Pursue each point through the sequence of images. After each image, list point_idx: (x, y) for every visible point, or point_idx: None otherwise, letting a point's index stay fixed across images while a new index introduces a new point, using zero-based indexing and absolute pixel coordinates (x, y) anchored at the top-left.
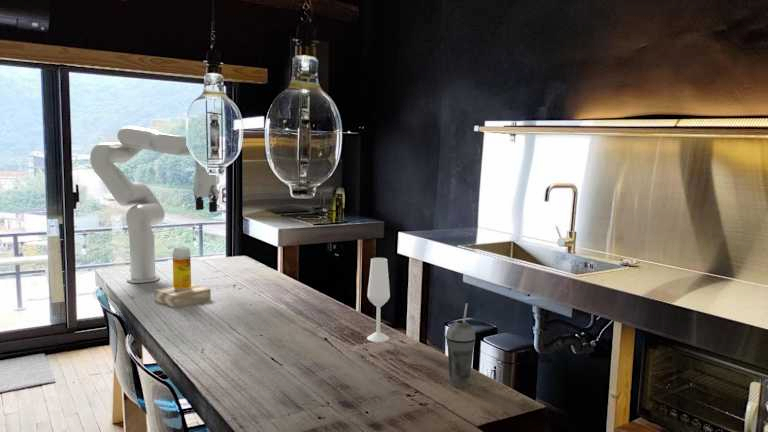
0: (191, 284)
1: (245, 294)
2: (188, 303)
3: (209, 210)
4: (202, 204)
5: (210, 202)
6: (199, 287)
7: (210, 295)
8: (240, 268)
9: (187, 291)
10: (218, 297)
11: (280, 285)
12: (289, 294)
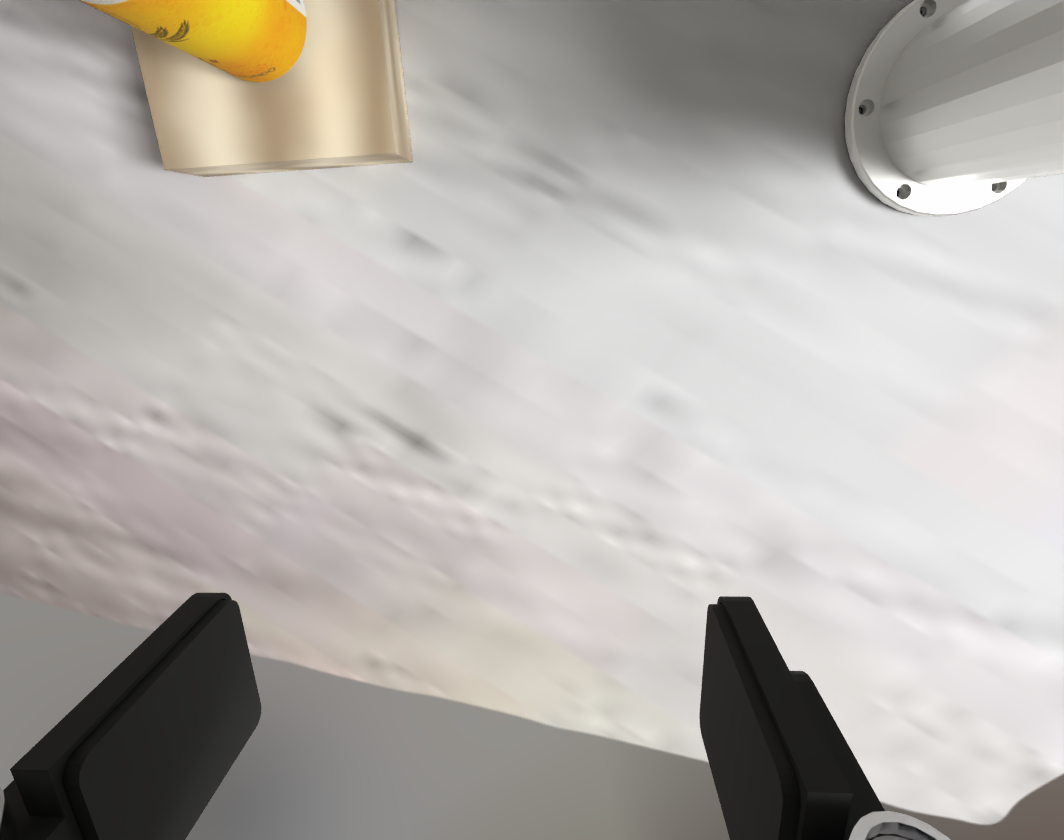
0: (349, 143)
1: (209, 375)
2: None
3: (197, 607)
4: (728, 805)
5: (24, 778)
6: (244, 141)
7: (189, 173)
8: None
9: None
10: (231, 238)
11: (273, 588)
12: (97, 518)
